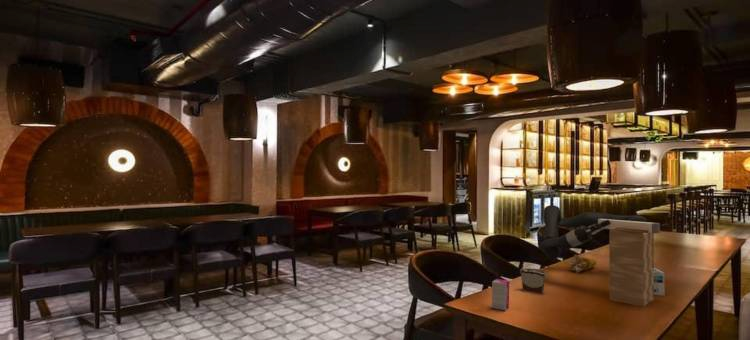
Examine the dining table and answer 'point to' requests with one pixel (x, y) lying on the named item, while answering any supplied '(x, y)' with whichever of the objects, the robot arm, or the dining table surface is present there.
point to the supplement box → (500, 295)
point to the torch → (582, 264)
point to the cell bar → (632, 225)
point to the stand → (631, 266)
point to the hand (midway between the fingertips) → (611, 221)
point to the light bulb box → (659, 282)
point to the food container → (533, 280)
